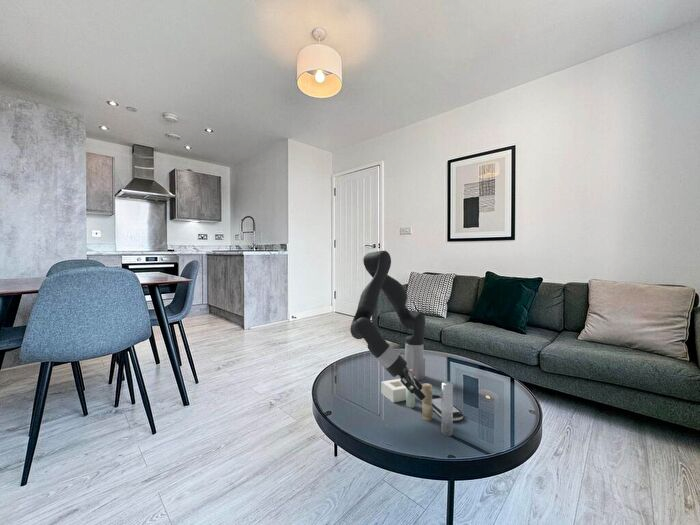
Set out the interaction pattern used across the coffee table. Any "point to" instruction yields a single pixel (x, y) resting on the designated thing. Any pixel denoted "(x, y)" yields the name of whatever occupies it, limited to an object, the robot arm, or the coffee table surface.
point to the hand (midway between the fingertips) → (422, 393)
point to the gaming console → (438, 408)
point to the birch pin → (427, 402)
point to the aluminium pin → (447, 408)
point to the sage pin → (410, 398)
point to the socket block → (394, 390)
